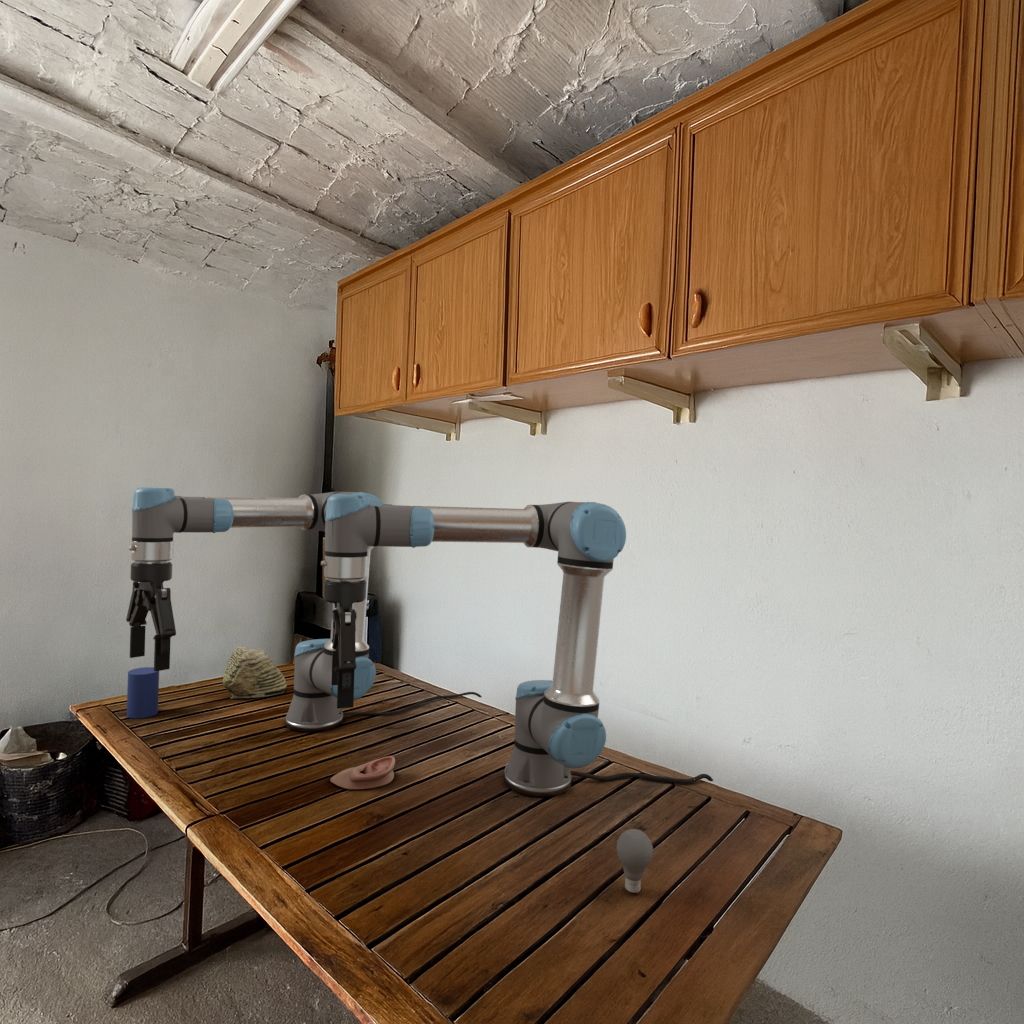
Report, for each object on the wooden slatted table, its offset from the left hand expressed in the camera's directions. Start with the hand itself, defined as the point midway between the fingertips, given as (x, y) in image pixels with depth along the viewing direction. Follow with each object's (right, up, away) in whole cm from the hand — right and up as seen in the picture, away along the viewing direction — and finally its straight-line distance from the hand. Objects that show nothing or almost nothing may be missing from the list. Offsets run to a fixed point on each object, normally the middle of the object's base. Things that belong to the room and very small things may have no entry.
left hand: (149, 663), depth 132 cm
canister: (-28, -25, +46) cm, 59 cm away
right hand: (+45, -2, -17) cm, 48 cm away
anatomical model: (+42, -29, +11) cm, 52 cm away
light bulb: (+96, -32, -26) cm, 104 cm away
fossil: (-5, -26, +66) cm, 71 cm away
